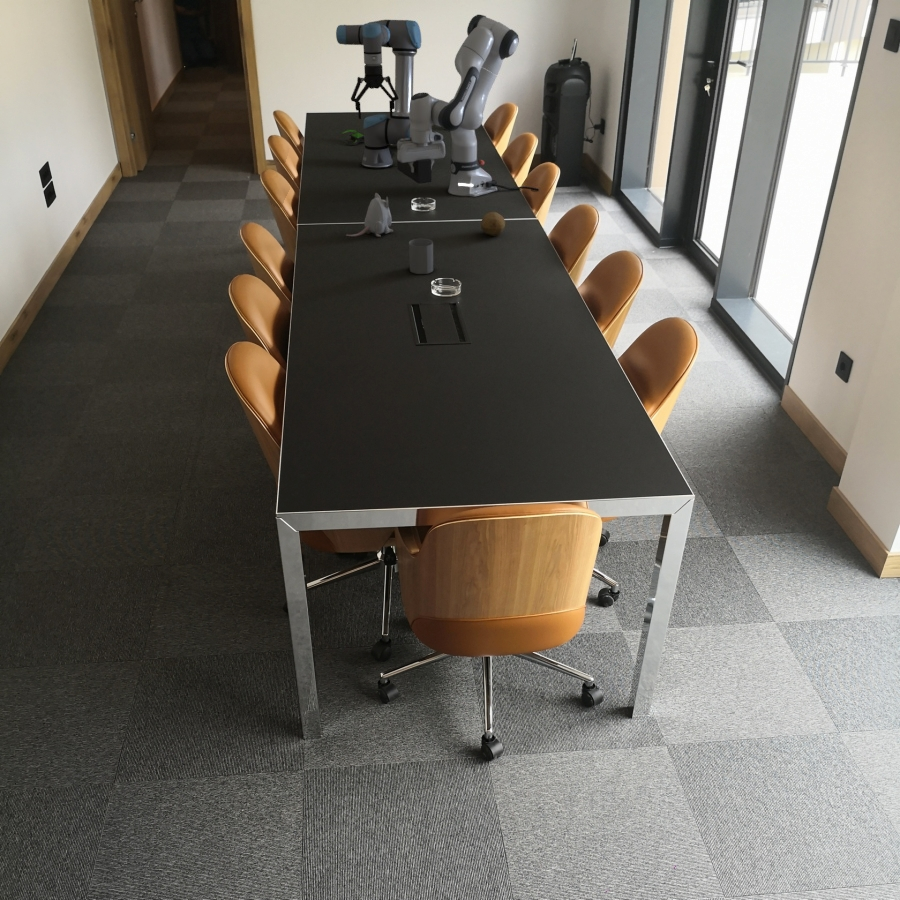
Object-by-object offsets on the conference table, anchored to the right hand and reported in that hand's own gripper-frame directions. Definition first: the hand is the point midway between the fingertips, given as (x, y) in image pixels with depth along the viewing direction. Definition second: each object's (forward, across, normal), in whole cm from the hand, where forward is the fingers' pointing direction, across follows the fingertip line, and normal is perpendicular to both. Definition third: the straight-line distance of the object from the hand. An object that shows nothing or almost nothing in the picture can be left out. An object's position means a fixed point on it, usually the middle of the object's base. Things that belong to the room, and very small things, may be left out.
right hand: (421, 171), depth 357 cm
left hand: (-15, -6, +35) cm, 39 cm away
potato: (+17, +13, -39) cm, 45 cm away
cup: (+16, -27, -64) cm, 71 cm away
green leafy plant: (+16, +19, +122) cm, 124 cm away
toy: (+16, -32, -22) cm, 42 cm away
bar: (+4, 0, +8) cm, 9 cm away
